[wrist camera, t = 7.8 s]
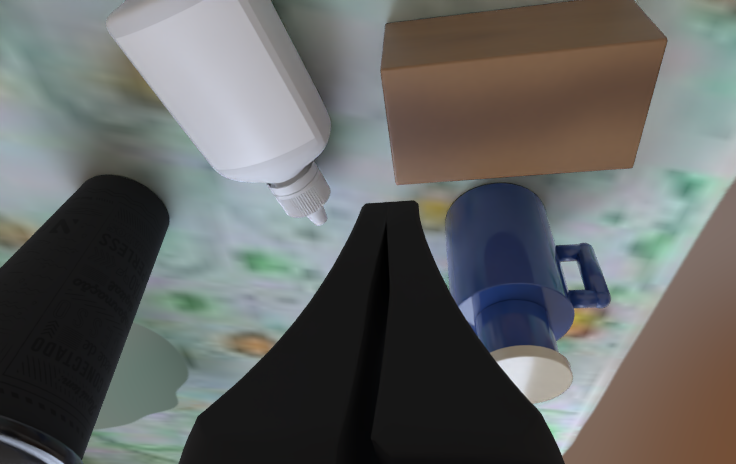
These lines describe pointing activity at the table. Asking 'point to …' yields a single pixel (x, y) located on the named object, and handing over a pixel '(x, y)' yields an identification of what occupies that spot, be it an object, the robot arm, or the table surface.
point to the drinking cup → (72, 316)
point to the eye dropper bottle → (234, 91)
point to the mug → (518, 284)
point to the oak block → (519, 90)
